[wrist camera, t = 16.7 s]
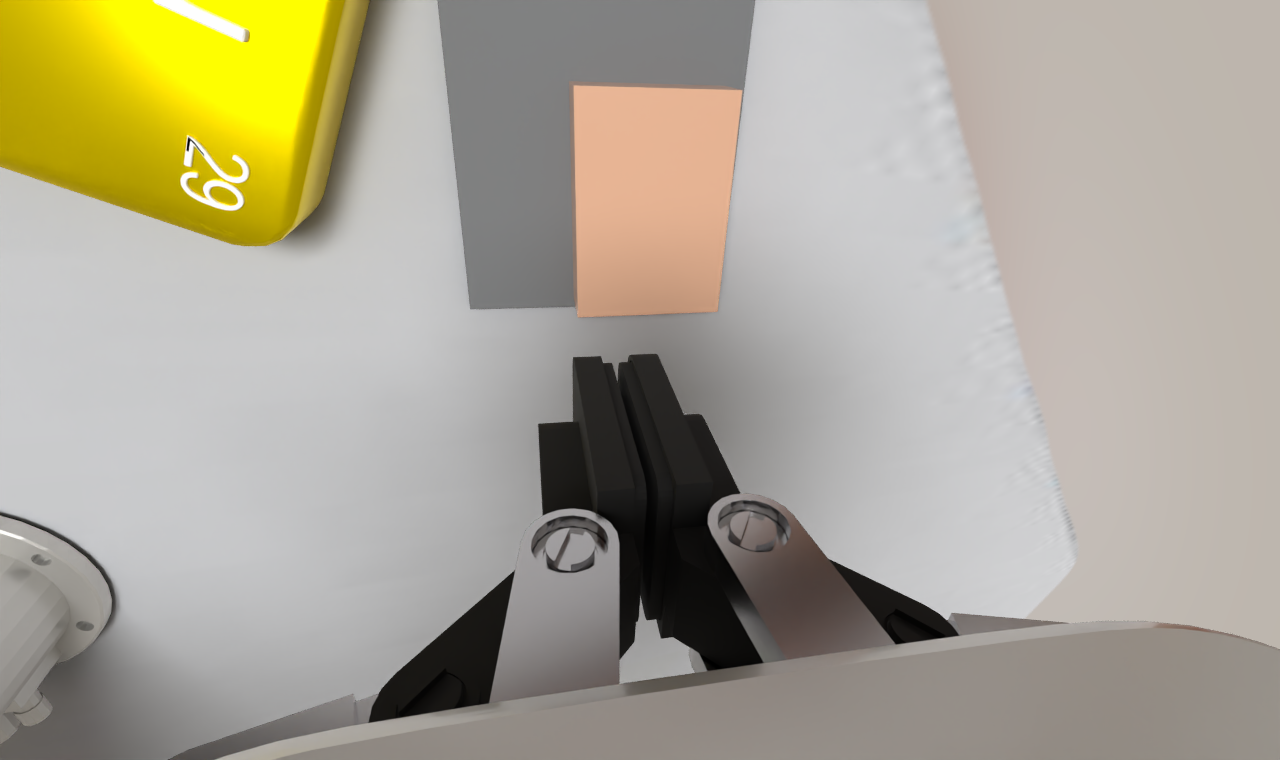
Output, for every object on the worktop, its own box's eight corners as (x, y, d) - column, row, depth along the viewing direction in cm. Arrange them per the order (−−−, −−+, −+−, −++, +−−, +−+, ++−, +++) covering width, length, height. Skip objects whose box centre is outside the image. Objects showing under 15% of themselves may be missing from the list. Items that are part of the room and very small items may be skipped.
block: (573, 298, 30) (704, 293, 31) (577, 317, 28) (717, 311, 29) (568, 81, 25) (725, 85, 26) (573, 85, 23) (742, 90, 24)
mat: (714, 298, 32) (717, 302, 32) (471, 304, 30) (470, 309, 29) (761, -92, 24) (766, -95, 23) (426, -126, 21) (423, -130, 21)
